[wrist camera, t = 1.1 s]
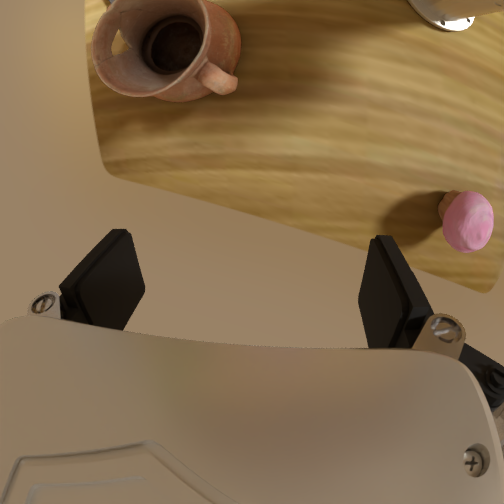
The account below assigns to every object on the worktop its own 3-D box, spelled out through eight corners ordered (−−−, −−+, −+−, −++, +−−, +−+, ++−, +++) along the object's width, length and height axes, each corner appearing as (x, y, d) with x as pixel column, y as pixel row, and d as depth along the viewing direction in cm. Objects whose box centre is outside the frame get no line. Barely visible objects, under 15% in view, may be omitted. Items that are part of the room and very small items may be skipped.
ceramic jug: (118, 60, 32) (54, 58, 19) (183, -15, 25) (138, -52, 13) (205, 132, 37) (167, 154, 25) (280, 57, 31) (279, 36, 19)
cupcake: (450, 237, 41) (478, 270, 32) (417, 214, 39) (445, 247, 31) (477, 195, 36) (511, 221, 27) (445, 167, 35) (481, 190, 26)
